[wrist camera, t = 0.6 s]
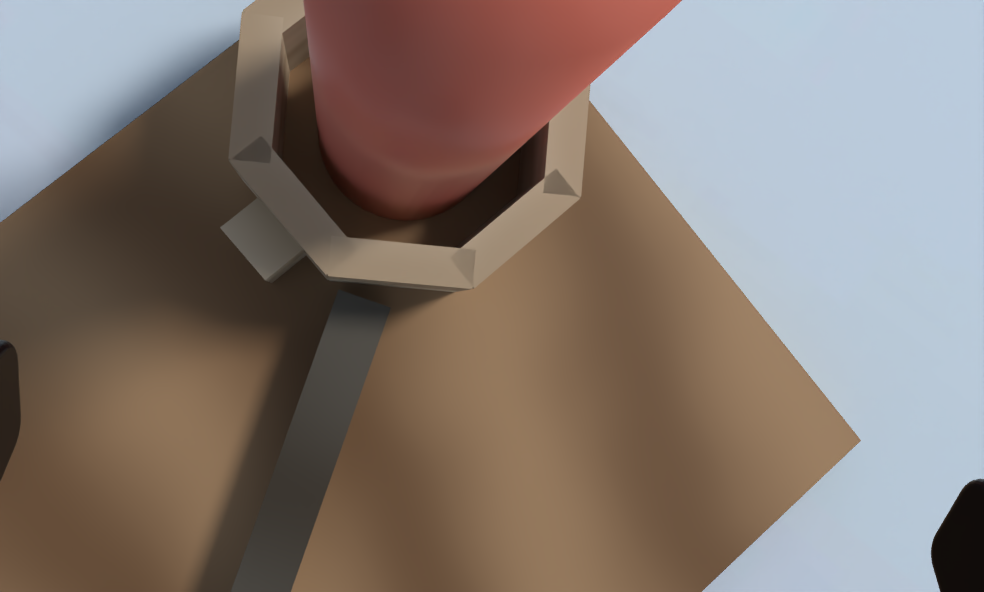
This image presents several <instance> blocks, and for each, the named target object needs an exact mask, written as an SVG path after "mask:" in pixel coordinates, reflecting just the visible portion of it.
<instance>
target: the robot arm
mask: <svg viewBox="0 0 984 592" xmlns="http://www.w3.org/2000/svg"><path fill="white" fill-rule="evenodd" d="M20 425H21V405H20V386H19V367H18V355H17V352H16V349H15V347H14V346H13V345H12V344H11V343H10V342H9V341H6V340H0V482H1V479H2V477H3V475H4V472H5V470H6V467H7V465H8V463H9V460H10V458H11V455H12V453H13V451H14V448H15V446H16V443H17V440H18V436H19V431H20ZM931 558H932V564H933V568H934V572H935V575H936V578H937V582H938V585H939V589H940V592H984V479H976V480H972V481H971V482H969V483H968V484H967V485H965V486H964V488H963V489H962V491H961V492H960V494H959V496H958V497H957V499H956V501H955V502H954V504H953V506H952V507H951V509H950V511H949V513H948V514H947V516H946V518H945V519H944V521H943V523H942V524H941V526H940V528H939V529H938V531H937V533H936V535H935V537H934V539H933V543H932V548H931Z"/></svg>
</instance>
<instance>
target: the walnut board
mask: <svg viewBox="0 0 984 592" xmlns="http://www.w3.org/2000/svg"><path fill="white" fill-rule="evenodd" d="M589 93H590V85H589V86H587V87H586V88H585V89H584V90H583V91H582V92H581V93H580V94H579V95H577V96H576V97H575V98H574V99H573V100H572V101H571V102H570V103H569V104H568V105H566V106H565V107H564V108H563V109H562V110H561V111H560V112H559V113H558V114H557V115H555V116H554V117H553V118H552V119H551V120H550V121H549V122H548V123H547V124H546V125H544V126H543V127H542V128H541V129H540V130H539V131H538V132H537V133H536V134H534V135H533V136H532V137H531V138H530V139H529V140H528V141H527V142H526V143H525V144H523V145H522V146H521V147H520V148H519V149H518V150H517V151H516V152H515V153H514V154H512V155H511V156H510V157H509V158H508V159H507V160H506V161H505V162H504V163H502V164H501V165H500V166H499V167H498V168H497V169H496V170H495V171H494V172H493V173H491V174H490V175H489V176H488V177H487V178H486V179H485V180H484V181H483V182H482V183H480V184H479V185H478V186H477V187H476V188H475V189H474V190H473V191H472V192H470V193H469V194H468V195H467V196H466V197H465V198H464V199H463V200H462V201H461V202H459V203H458V204H456V205H455V206H454V207H452V208H451V209H449V210H447V211H445V212H443V213H441V214H438V215H436V216H433V217H430V218H425V219H421V220H411V221H404V220H393V219H387V218H384V217H381V216H377V215H375V214H372V213H370V212H368V211H366V210H364V209H363V208H361V207H359V206H358V205H356V204H355V203H354V202H352V201H351V200H350V199H349V198H347V197H346V196H345V195H344V194H343V193H342V192H341V190H340V189H339V188H338V187H337V185H336V184H335V183H334V181H333V180H332V178H331V177H330V175H329V173H328V171H327V169H326V167H325V164H324V162H323V159H322V155H321V151H320V146H319V137H318V128H317V119H316V110H315V101H314V92H313V83H312V74H311V65H310V56H309V47H308V38H307V29H306V20H305V11H304V2H303V0H256V1H255V2H253V3H252V4H251V5H249V6H248V7H247V8H245V9H244V10H243V12H242V17H241V27H240V38H239V40H238V41H237V42H236V43H234V44H233V45H232V46H230V47H229V48H228V49H226V50H225V51H224V52H223V53H221V54H220V55H219V56H217V57H216V58H215V59H213V60H212V61H211V62H209V63H208V64H207V65H206V66H204V67H203V68H202V69H200V70H199V71H198V72H196V73H195V74H194V75H192V76H191V77H190V78H189V79H187V80H186V81H185V82H183V83H182V84H181V85H179V86H178V87H177V88H176V89H174V90H173V91H172V92H170V93H169V94H168V95H166V96H165V97H164V98H162V99H161V100H160V101H159V102H157V103H156V104H155V105H153V106H152V107H151V108H149V109H148V110H147V111H145V112H144V113H143V114H142V115H140V116H139V117H138V118H136V119H135V120H134V121H132V122H131V123H130V124H129V125H127V126H126V127H125V128H123V129H122V130H121V131H119V132H118V133H117V134H115V135H114V136H113V137H112V138H110V139H109V140H108V141H106V142H105V143H104V144H102V145H101V146H100V147H98V148H97V149H96V150H95V151H93V152H92V153H91V154H89V155H88V156H87V157H85V158H84V159H83V160H82V161H80V162H79V163H78V164H76V165H75V166H74V167H72V168H71V169H70V170H68V171H67V172H66V173H65V174H63V175H62V176H61V177H59V178H58V179H57V180H55V181H54V182H53V183H51V184H50V185H49V186H48V187H46V188H45V189H44V190H42V191H41V192H40V193H38V194H37V195H36V196H35V197H33V198H32V199H31V200H29V201H28V202H27V203H25V204H24V205H23V206H21V207H20V208H19V209H18V210H16V211H15V212H14V213H12V214H11V215H10V216H8V217H7V218H6V219H4V220H3V221H2V222H1V223H0V340H6V341H9V342H10V343H11V344H12V345H13V346H14V347H15V349H16V352H17V355H18V367H19V386H20V405H21V425H20V431H19V436H18V440H17V443H16V446H15V448H14V451H13V453H12V455H11V458H10V460H9V463H8V465H7V467H6V470H5V472H4V475H3V477H2V479H1V482H0V592H702V591H703V590H704V589H705V588H706V587H707V586H708V585H709V584H710V583H711V582H712V581H713V580H714V579H715V578H716V577H717V576H719V575H720V574H721V573H722V572H723V571H724V570H725V569H726V568H727V567H728V566H729V565H730V564H731V563H732V562H733V561H734V560H735V559H736V558H737V557H739V556H740V555H741V554H742V553H743V552H744V551H745V550H746V549H747V548H748V547H749V546H750V545H751V544H752V543H753V542H754V541H755V540H756V539H758V538H759V537H760V536H761V535H762V534H763V533H764V532H765V531H766V530H767V529H768V528H769V527H770V526H771V525H772V524H773V523H774V522H775V521H777V520H778V519H779V518H780V517H781V516H782V515H783V514H784V513H785V512H786V511H787V510H788V509H789V508H790V507H791V506H792V505H793V504H794V503H796V502H797V501H798V500H799V499H800V498H801V497H802V496H803V495H804V494H805V493H806V492H807V491H808V490H809V489H810V488H811V487H812V486H813V485H815V484H816V483H817V482H818V481H819V480H820V479H821V478H822V477H823V476H824V475H825V474H826V473H827V472H828V471H829V470H830V469H831V468H832V467H833V466H835V465H836V464H837V463H838V462H839V461H840V460H841V459H842V458H843V457H844V456H845V455H846V454H847V453H848V452H849V451H850V450H851V449H852V448H854V447H855V446H856V445H857V444H858V443H859V442H860V441H861V440H860V439H859V437H858V436H857V435H856V434H855V432H854V431H853V430H852V429H851V427H850V426H849V425H848V424H847V422H846V421H845V420H844V419H843V417H842V416H841V415H840V414H839V412H838V411H837V410H836V409H835V407H834V406H833V405H832V404H831V402H830V401H829V400H828V399H827V397H826V396H825V395H824V394H823V392H822V391H821V390H820V389H819V387H818V386H817V385H816V384H815V382H814V381H813V380H812V379H811V377H810V376H809V375H808V374H807V372H806V371H805V370H804V369H803V367H802V366H801V365H800V364H799V362H798V361H797V360H796V359H795V357H794V356H793V355H792V354H791V352H790V351H789V350H788V349H787V347H786V346H785V345H784V344H783V342H782V341H781V340H780V339H779V337H778V336H777V335H776V334H775V332H774V331H773V330H772V329H771V327H770V326H769V325H768V324H767V322H766V321H765V320H764V319H763V317H762V316H761V315H760V314H759V312H758V311H757V310H756V309H755V307H754V306H753V305H752V304H751V302H750V301H749V300H748V298H747V297H746V296H745V295H744V293H743V292H742V291H741V290H740V288H739V287H738V286H737V285H736V283H735V282H734V281H733V280H732V278H731V277H730V276H729V275H728V273H727V272H726V271H725V270H724V268H723V267H722V266H721V265H720V263H719V262H718V261H717V260H716V258H715V257H714V256H713V255H712V253H711V252H710V251H709V250H708V248H707V247H706V246H705V245H704V243H703V242H702V241H701V240H700V238H699V237H698V236H697V235H696V233H695V232H694V231H693V230H692V228H691V227H690V226H689V225H688V223H687V222H686V221H685V220H684V218H683V217H682V216H681V215H680V213H679V212H678V211H677V210H676V208H675V207H674V206H673V205H672V203H671V202H670V201H669V200H668V198H667V197H666V196H665V195H664V193H663V192H662V191H661V190H660V188H659V187H658V186H657V185H656V183H655V182H654V181H653V180H652V178H651V177H650V176H649V175H648V173H647V172H646V171H645V170H644V168H643V167H642V166H641V165H640V163H639V162H638V161H637V160H636V158H635V157H634V156H633V155H632V153H631V152H630V151H629V150H628V148H627V147H626V146H625V145H624V143H623V142H622V141H621V140H620V138H619V137H618V136H617V135H616V133H615V132H614V131H613V130H612V128H611V127H610V126H609V125H608V123H607V122H606V121H605V119H604V118H603V117H602V116H601V114H600V113H599V112H598V111H597V109H596V108H595V107H594V106H593V104H592V103H591V102H590V101H589Z"/></svg>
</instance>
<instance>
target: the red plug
mask: <svg viewBox="0 0 984 592" xmlns="http://www.w3.org/2000/svg"><path fill="white" fill-rule="evenodd" d="M681 1H682V0H303V2H304V11H305V20H306V29H307V38H308V47H309V56H310V65H311V74H312V83H313V92H314V101H315V110H316V119H317V128H318V137H319V146H320V151H321V155H322V159H323V162H324V164H325V167H326V169H327V171H328V173H329V175H330V177H331V178H332V180H333V181H334V183H335V184H336V185H337V187H338V188H339V189H340V190H341V192H342V193H343V194H344V195H345V196H346V197H347V198H349V199H350V200H351V201H352V202H354V203H355V204H356V205H358V206H359V207H361V208H363V209H364V210H366V211H368V212H370V213H372V214H375V215H377V216H381V217H384V218H387V219H393V220H404V221H411V220H421V219H425V218H430V217H433V216H436V215H438V214H441V213H443V212H445V211H447V210H449V209H451V208H452V207H454V206H455V205H456V204H458V203H459V202H461V201H462V200H463V199H464V198H465V197H466V196H467V195H468V194H469V193H470V192H472V191H473V190H474V189H475V188H476V187H477V186H478V185H479V184H480V183H482V182H483V181H484V180H485V179H486V178H487V177H488V176H489V175H490V174H491V173H493V172H494V171H495V170H496V169H497V168H498V167H499V166H500V165H501V164H502V163H504V162H505V161H506V160H507V159H508V158H509V157H510V156H511V155H512V154H514V153H515V152H516V151H517V150H518V149H519V148H520V147H521V146H522V145H523V144H525V143H526V142H527V141H528V140H529V139H530V138H531V137H532V136H533V135H534V134H536V133H537V132H538V131H539V130H540V129H541V128H542V127H543V126H544V125H546V124H547V123H548V122H549V121H550V120H551V119H552V118H553V117H554V116H555V115H557V114H558V113H559V112H560V111H561V110H562V109H563V108H564V107H565V106H566V105H568V104H569V103H570V102H571V101H572V100H573V99H574V98H575V97H576V96H577V95H579V94H580V93H581V92H582V91H583V90H584V89H585V88H586V87H587V86H589V85H590V84H591V83H592V82H593V81H594V80H595V79H596V78H597V77H598V76H600V75H601V74H602V73H603V72H604V71H605V70H606V69H607V68H608V67H609V66H611V65H612V64H613V63H614V62H615V61H616V60H617V59H618V58H619V57H621V56H622V55H623V54H624V53H625V52H626V51H627V50H628V49H629V48H630V47H632V46H633V45H634V44H635V43H636V42H637V41H638V40H639V39H640V38H641V37H643V36H644V35H645V34H646V33H647V32H648V31H649V30H650V29H651V28H653V27H654V26H655V25H656V24H657V23H658V22H659V21H660V20H661V19H662V18H664V17H665V16H666V15H667V14H668V13H669V12H670V11H671V10H672V9H673V8H674V7H675V6H676V5H677V4H678V3H680V2H681Z"/></svg>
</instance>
